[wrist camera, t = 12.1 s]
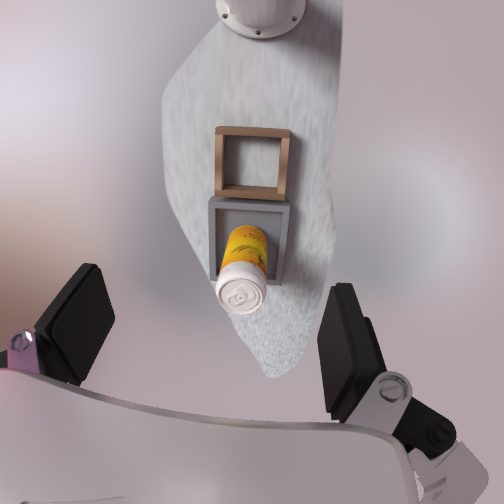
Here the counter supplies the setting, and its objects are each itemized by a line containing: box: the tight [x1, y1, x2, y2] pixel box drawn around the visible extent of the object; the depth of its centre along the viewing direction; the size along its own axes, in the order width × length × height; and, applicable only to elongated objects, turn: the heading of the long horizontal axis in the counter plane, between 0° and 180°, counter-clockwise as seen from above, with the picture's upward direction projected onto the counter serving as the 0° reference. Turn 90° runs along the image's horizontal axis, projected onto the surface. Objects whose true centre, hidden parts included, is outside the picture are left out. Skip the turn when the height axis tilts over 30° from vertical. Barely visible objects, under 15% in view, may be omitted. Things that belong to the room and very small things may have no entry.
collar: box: [215, 126, 290, 201], centre depth 40 cm, size 10×10×3 cm
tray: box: [208, 196, 290, 285], centre depth 46 cm, size 14×12×2 cm
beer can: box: [216, 225, 267, 315], centre depth 40 cm, size 6×6×15 cm
